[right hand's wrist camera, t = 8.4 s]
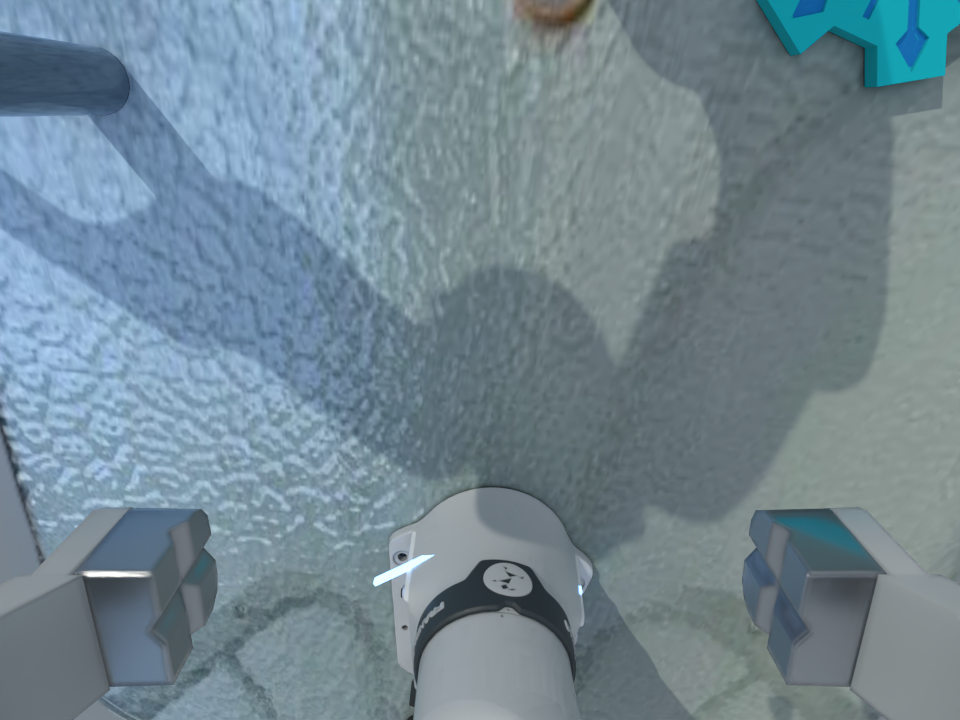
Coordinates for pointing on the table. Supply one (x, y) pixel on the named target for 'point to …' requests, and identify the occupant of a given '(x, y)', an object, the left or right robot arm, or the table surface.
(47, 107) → the jar
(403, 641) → the right robot arm
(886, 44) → the decorative ornament
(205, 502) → the table surface
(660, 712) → the table surface
